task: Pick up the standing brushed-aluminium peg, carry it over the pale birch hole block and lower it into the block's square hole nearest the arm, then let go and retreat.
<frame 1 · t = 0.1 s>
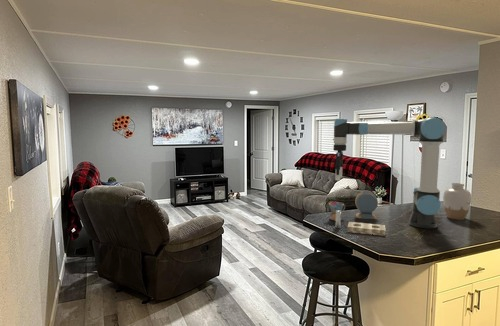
hand: (338, 178, 207), 28 cm above the kitchen island counter, fingers open, 13 cm apart
alarm clock: (365, 217, 225), on the kitchen island counter
peg: (337, 227, 200), on the kitchen island counter
mug: (337, 219, 218), on the kitchen island counter
vase: (455, 218, 223), on the kitchen island counter
hole block: (366, 231, 193), on the kitchen island counter
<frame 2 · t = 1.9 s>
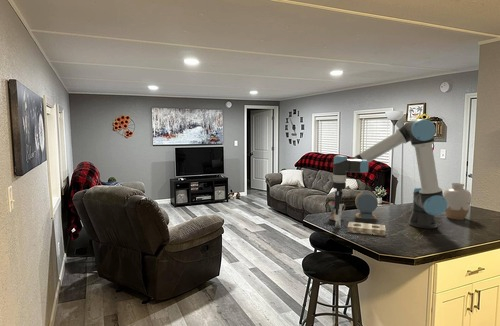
hand: (337, 217, 200), 6 cm above the kitchen island counter, fingers open, 13 cm apart
nothing on the kitchen island counter moved.
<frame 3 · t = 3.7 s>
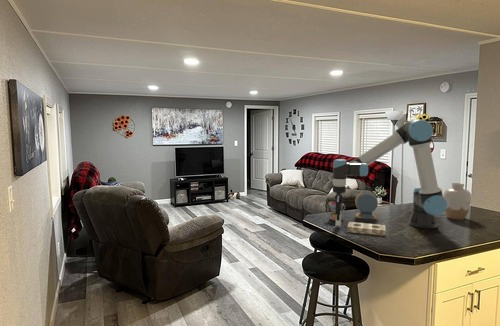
hand: (338, 224, 200), 2 cm above the kitchen island counter, fingers closed on peg, 3 cm apart
peg: (338, 227, 201), on the kitchen island counter, touching gripper
everything else where it was.
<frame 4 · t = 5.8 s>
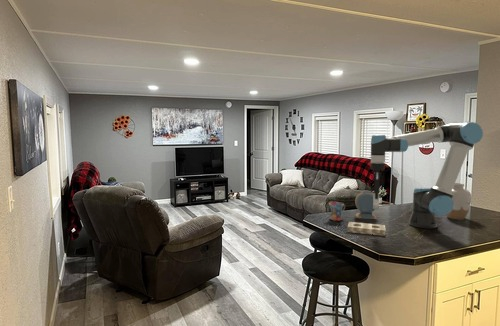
hand: (376, 203, 190), 16 cm above the kitchen island counter, fingers closed on peg, 2 cm apart
peg: (375, 208, 190), point 13 cm above the kitchen island counter, touching gripper
everything else where it was.
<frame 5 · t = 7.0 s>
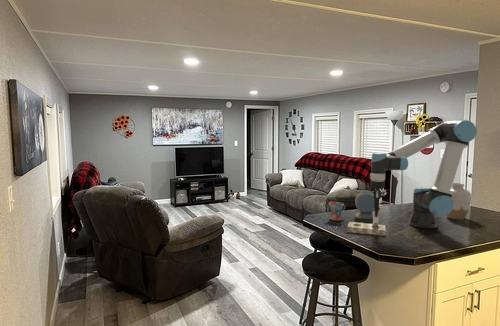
hand: (375, 221, 191), 6 cm above the kitchen island counter, fingers closed on peg, 2 cm apart
peg: (375, 226, 191), point 3 cm above the kitchen island counter, touching gripper
everything else where it was.
when the fingers open (4 cm above the kitchen island counter, at t = 8.1 s): peg stays where it is, resting in hole block.
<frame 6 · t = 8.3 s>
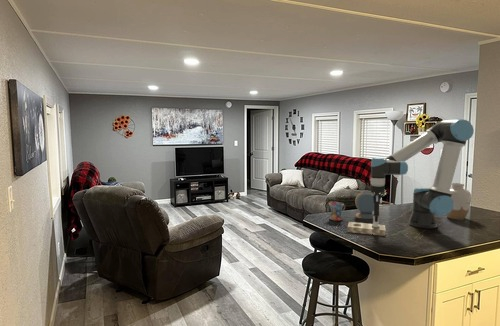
hand: (375, 225, 191), 4 cm above the kitchen island counter, fingers open, 7 cm apart
peg: (375, 232, 191), resting in hole block
everything else where it was.
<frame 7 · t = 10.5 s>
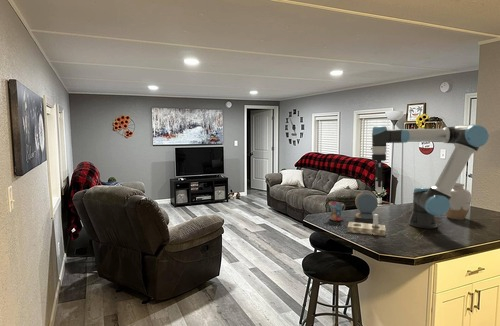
hand: (378, 190, 193), 23 cm above the kitchen island counter, fingers open, 13 cm apart
nothing on the kitchen island counter moved.
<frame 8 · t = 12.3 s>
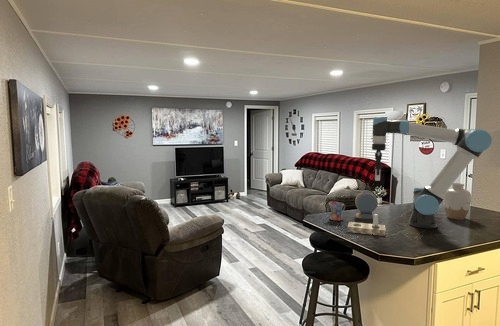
hand: (377, 179, 201), 29 cm above the kitchen island counter, fingers open, 13 cm apart
nothing on the kitchen island counter moved.
at the end: peg 0.1 cm from the target spot on the hole block, point 0.0 cm above the hole block's base; peg tilted 0°; the gripper is holding nothing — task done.
